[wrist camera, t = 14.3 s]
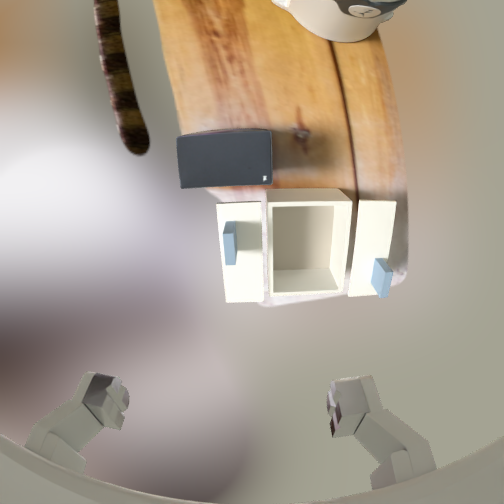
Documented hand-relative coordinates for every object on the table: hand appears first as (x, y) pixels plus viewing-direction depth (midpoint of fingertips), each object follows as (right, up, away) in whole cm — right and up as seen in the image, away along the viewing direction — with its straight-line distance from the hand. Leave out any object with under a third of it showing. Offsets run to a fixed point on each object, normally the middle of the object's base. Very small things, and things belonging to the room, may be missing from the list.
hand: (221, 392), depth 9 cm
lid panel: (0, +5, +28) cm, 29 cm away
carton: (+9, +8, +35) cm, 37 cm away
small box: (-2, +20, +29) cm, 35 cm away
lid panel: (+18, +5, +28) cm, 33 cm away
